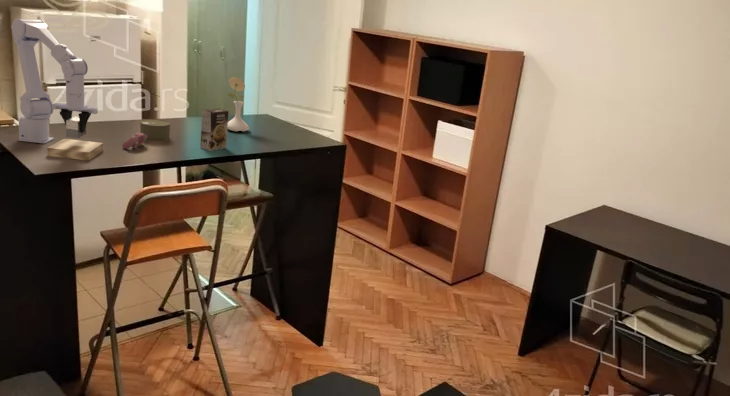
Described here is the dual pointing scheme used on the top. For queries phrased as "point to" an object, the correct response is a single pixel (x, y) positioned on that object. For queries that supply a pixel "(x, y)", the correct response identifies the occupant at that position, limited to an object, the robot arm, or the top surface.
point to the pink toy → (135, 140)
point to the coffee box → (214, 129)
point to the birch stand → (75, 149)
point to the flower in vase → (237, 107)
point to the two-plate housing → (74, 128)
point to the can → (155, 129)
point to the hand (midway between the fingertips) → (75, 131)
